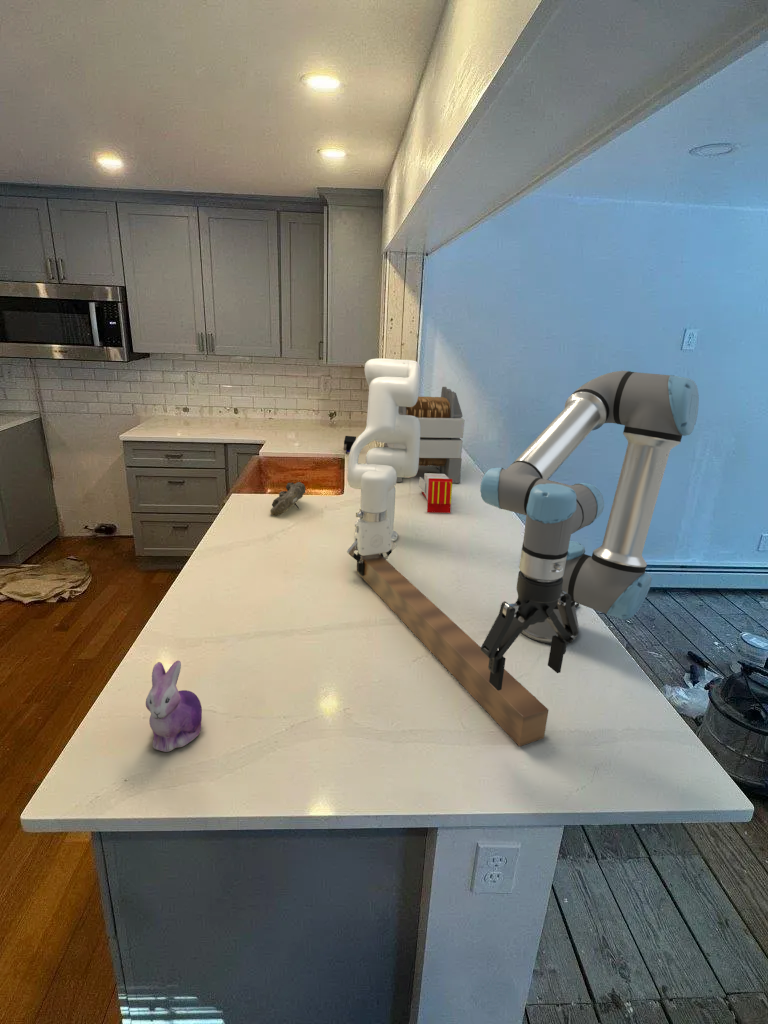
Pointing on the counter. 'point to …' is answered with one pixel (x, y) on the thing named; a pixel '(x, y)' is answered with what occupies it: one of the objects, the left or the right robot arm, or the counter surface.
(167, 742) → the figurine
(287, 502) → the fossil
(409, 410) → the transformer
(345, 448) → the figurine character
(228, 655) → the counter surface
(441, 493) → the toy
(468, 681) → the post
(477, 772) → the counter surface
